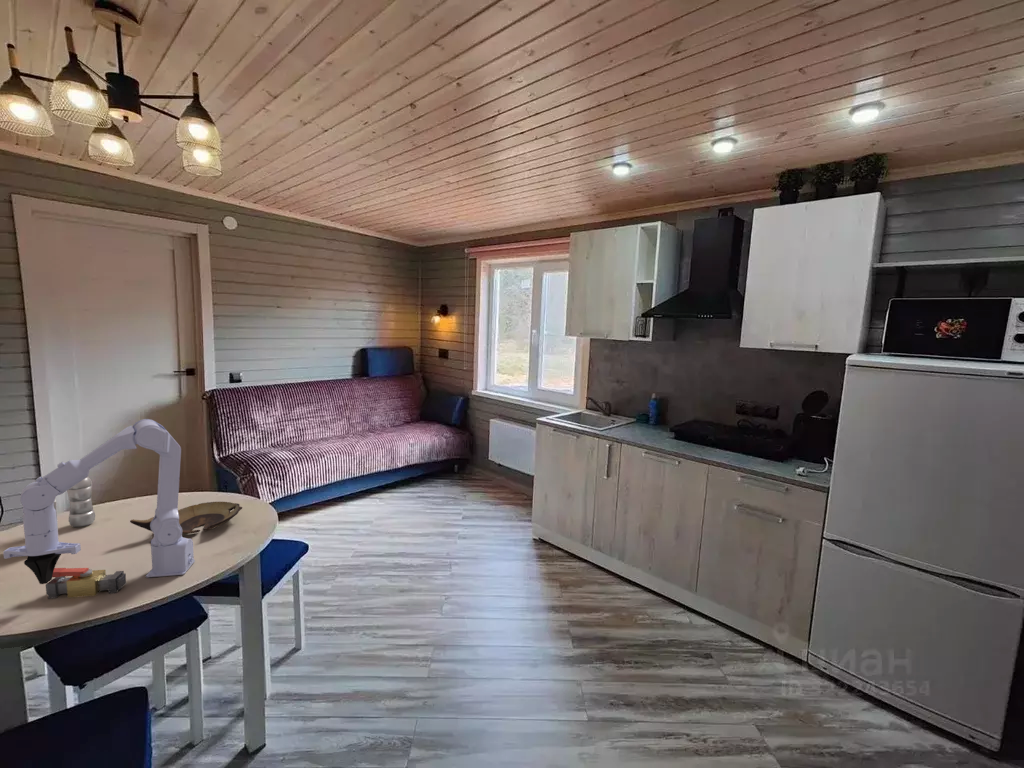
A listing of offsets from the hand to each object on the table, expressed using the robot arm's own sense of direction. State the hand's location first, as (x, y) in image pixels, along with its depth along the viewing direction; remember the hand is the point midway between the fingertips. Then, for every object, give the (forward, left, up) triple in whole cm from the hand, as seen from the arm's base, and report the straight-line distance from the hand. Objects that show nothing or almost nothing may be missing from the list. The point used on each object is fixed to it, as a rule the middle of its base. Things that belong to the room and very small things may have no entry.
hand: (45, 581), depth 116 cm
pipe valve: (-6, -4, -6) cm, 9 cm away
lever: (-3, -4, -1) cm, 5 cm away
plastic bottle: (+18, -47, -6) cm, 51 cm away
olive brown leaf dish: (-17, -40, -6) cm, 44 cm away
